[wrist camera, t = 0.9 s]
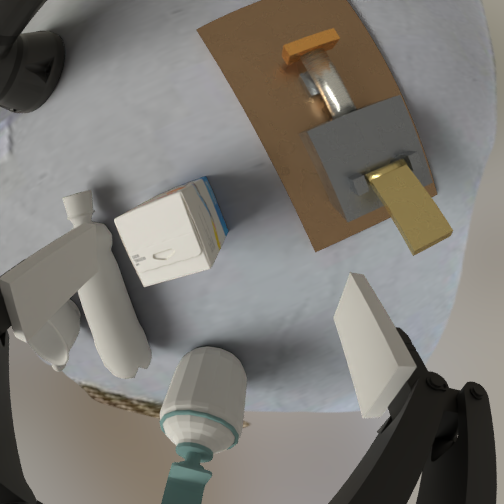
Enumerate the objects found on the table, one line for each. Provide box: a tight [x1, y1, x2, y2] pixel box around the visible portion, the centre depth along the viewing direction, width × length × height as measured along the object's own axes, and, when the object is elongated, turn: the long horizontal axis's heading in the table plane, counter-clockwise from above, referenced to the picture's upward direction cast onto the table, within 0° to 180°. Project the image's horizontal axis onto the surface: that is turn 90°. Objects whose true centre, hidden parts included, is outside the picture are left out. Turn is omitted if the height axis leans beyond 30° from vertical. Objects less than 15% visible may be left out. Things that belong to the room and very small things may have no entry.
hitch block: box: [197, 0, 437, 252], centre depth 27 cm, size 34×20×11 cm, turn 27°
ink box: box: [114, 176, 229, 287], centre depth 33 cm, size 9×8×12 cm
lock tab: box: [365, 158, 453, 256], centre depth 23 cm, size 9×4×1 cm
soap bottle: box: [160, 346, 247, 504], centre depth 34 cm, size 12×12×31 cm
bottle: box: [63, 190, 152, 379], centre depth 39 cm, size 9×9×30 cm
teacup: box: [28, 299, 81, 371], centre depth 42 cm, size 12×15×10 cm
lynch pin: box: [282, 28, 357, 119], centre depth 26 cm, size 13×6×4 cm, turn 27°
